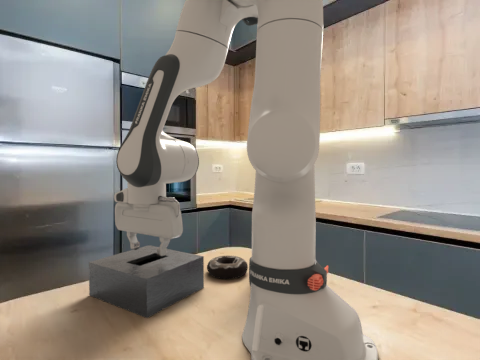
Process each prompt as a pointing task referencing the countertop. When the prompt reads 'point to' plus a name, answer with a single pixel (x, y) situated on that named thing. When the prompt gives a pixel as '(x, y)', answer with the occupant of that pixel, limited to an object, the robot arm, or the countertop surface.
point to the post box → (146, 279)
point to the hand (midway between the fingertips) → (148, 252)
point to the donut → (227, 267)
